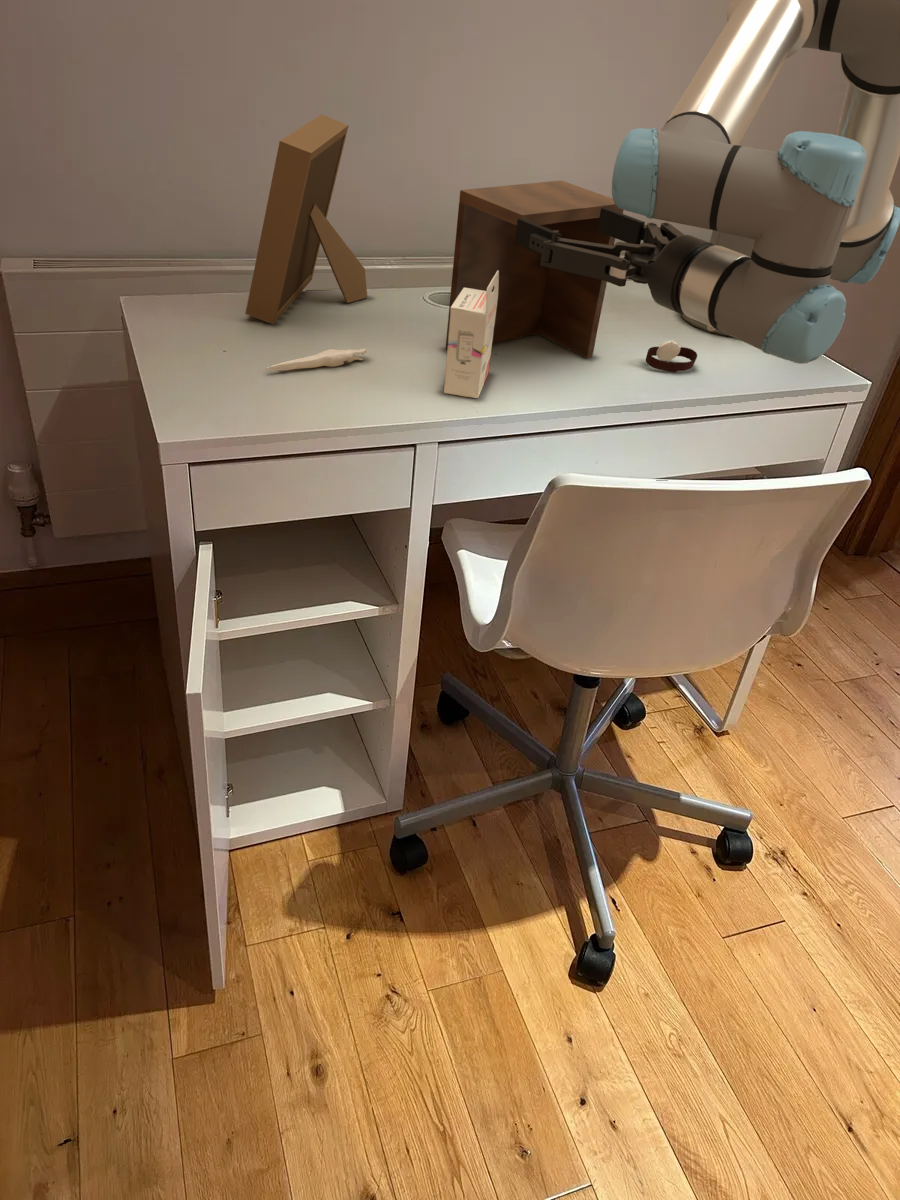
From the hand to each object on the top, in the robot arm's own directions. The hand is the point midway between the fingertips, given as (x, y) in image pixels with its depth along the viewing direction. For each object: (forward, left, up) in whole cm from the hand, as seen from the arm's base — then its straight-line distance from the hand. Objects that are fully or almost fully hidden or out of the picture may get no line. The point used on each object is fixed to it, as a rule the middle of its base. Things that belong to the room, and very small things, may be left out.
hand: (560, 224), depth 109 cm
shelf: (-10, -14, -23) cm, 28 cm away
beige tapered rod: (+20, -23, -23) cm, 38 cm away
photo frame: (+7, -44, -23) cm, 50 cm away
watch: (-27, 0, -23) cm, 36 cm away
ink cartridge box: (+5, -9, -23) cm, 25 cm away
